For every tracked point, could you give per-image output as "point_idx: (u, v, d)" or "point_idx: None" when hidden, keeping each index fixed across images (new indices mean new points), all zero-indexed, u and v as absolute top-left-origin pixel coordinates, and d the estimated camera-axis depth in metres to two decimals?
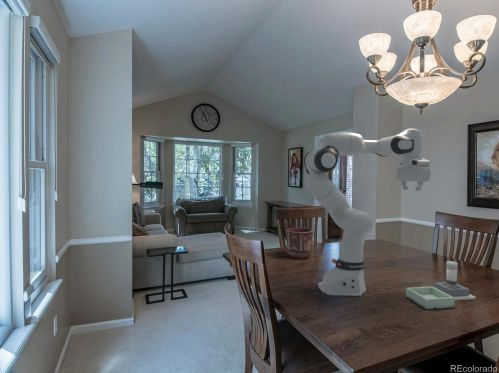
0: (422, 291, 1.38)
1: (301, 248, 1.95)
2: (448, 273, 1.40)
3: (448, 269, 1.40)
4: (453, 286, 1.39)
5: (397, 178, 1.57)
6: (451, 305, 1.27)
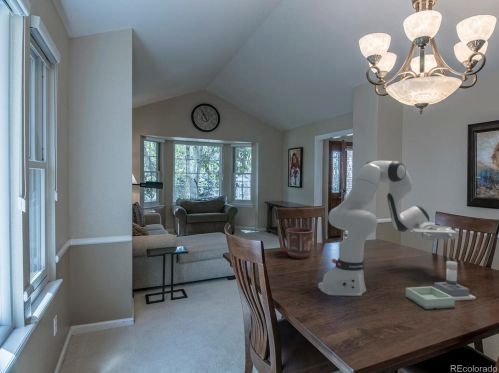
0: (422, 291, 1.38)
1: (301, 248, 1.95)
2: (447, 273, 1.40)
3: (447, 269, 1.40)
4: (453, 286, 1.39)
5: (418, 230, 1.58)
6: (451, 305, 1.27)
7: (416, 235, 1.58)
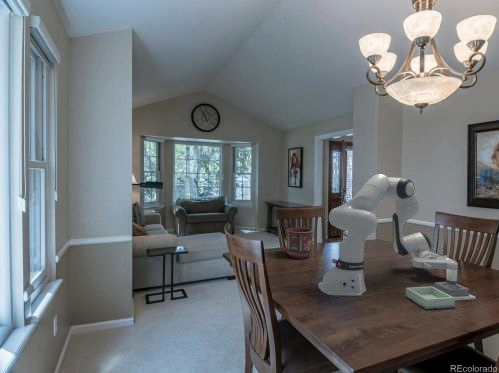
0: (422, 291, 1.38)
1: (301, 248, 1.95)
2: (448, 273, 1.40)
3: (448, 269, 1.40)
4: (453, 286, 1.39)
5: (418, 260, 1.57)
6: (451, 305, 1.27)
7: (416, 265, 1.57)
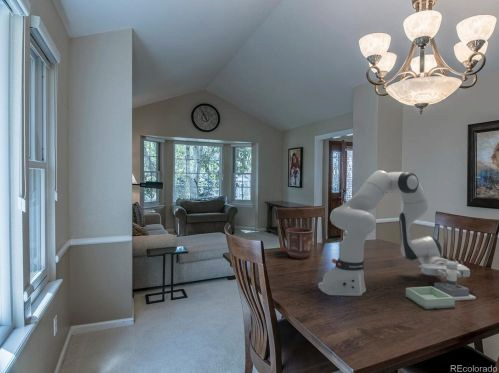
0: (422, 291, 1.38)
1: (301, 248, 1.95)
2: None
3: (447, 269, 1.40)
4: (453, 286, 1.39)
5: (427, 267, 1.46)
6: (451, 305, 1.27)
7: (425, 272, 1.46)
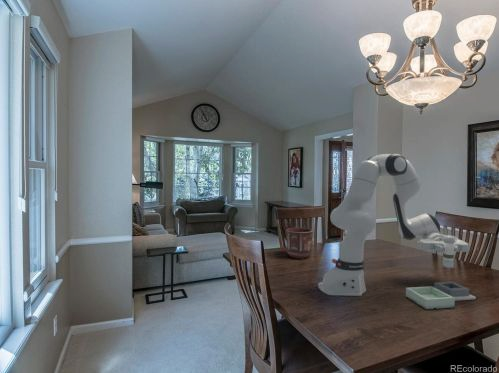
0: (422, 291, 1.38)
1: (301, 248, 1.95)
2: None
3: (444, 242, 1.38)
4: (450, 260, 1.36)
5: (425, 241, 1.44)
6: (451, 305, 1.27)
7: (422, 246, 1.44)
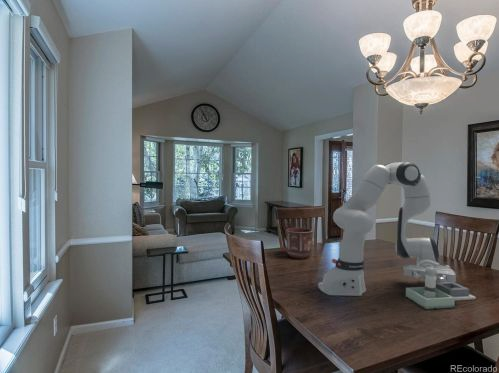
0: (422, 291, 1.38)
1: (301, 248, 1.95)
2: (425, 278, 1.32)
3: (426, 274, 1.32)
4: (430, 293, 1.31)
5: (408, 268, 1.40)
6: (451, 305, 1.27)
7: (405, 273, 1.40)
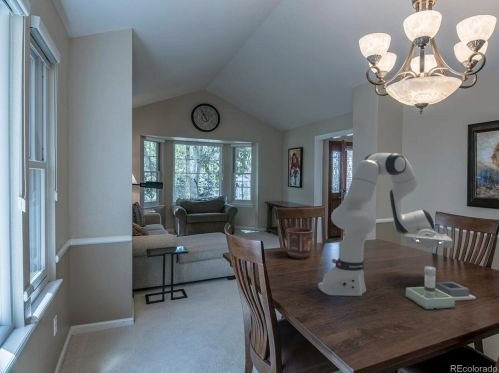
0: (422, 291, 1.38)
1: (301, 248, 1.95)
2: (425, 279, 1.32)
3: (425, 274, 1.32)
4: (429, 293, 1.31)
5: (408, 235, 1.50)
6: (451, 305, 1.27)
7: (405, 240, 1.50)
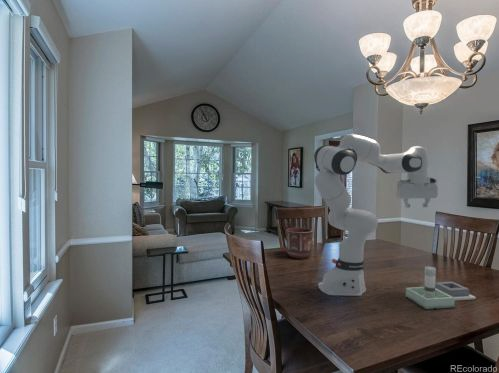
0: (422, 291, 1.38)
1: (301, 248, 1.95)
2: (425, 279, 1.32)
3: (425, 274, 1.32)
4: (429, 293, 1.31)
5: (403, 196, 1.47)
6: (451, 305, 1.27)
7: (398, 197, 1.50)
